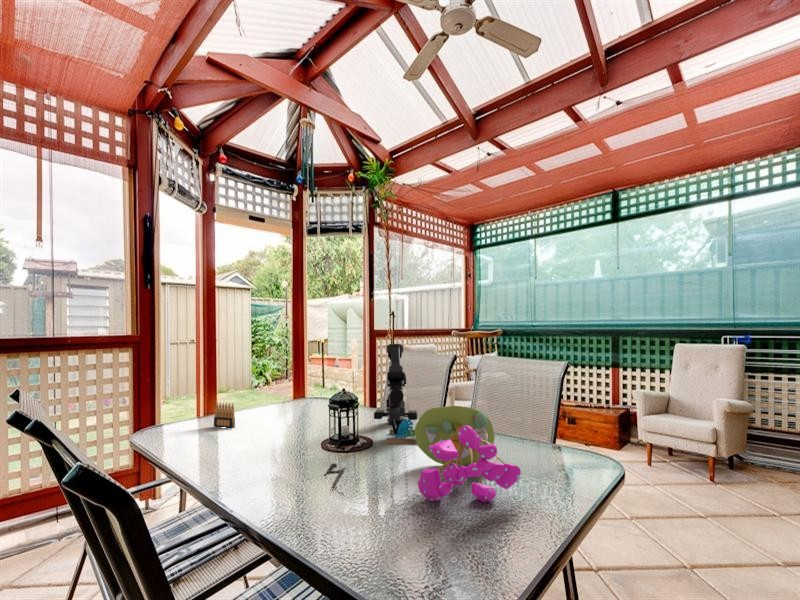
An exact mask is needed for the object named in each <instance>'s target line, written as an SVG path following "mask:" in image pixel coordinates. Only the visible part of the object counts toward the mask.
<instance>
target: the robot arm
mask: <svg viewBox="0 0 800 600" xmlns="http://www.w3.org/2000/svg"><path fill="white" fill-rule="evenodd" d="M403 353H404V345H403V344H402V343H389V344H387V345H386V354H387V357H388V359H389V361H390V366H389V367H388V372H387V373H386V375H387V376H386V378H387V380H386V381H387V382H386V383H387V384H386V386H387V387H388V388H389V392H388V394H387V398H386V400H385V401H386V403H385V404H386V408H385V409H386V410H384V409H376V410H374V412H373V420H382V419H383V418H385V417H386V421H387V425H391V427H392V428H391V429H393V431H394V434H395V436H396V435H398V434H397V432H398V428H399V425H400V423H401V422H402V421H403V422H404V419H405V418H408V419H410V420H411V421H415V420H416V421H418V411H417V410H408V409H407V410H408V411H407V412H406V407H405V400H404V392H403V387H406V385H407V374H406V372H405V371H404V367H403V366H402V364H401V359H402V357H403ZM396 424H397V425H396Z"/></svg>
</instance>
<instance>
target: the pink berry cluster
mask: <svg viewBox="0 0 800 600" xmlns="http://www.w3.org/2000/svg"><path fill="white" fill-rule="evenodd" d="M414 430H415V435H414V438H416V443H417V444H416V445H417V447H418V448H419V449H420V450H421V451H422V452H423V453H424V455H425V456H427V457H428V458H429V459H431V460H432V461H434V462H436V463H438V464H441V465H440V466H439V467H438V468H436V467H435V468H427V467H425V468H424V469H422V471H421V472H420V475H419V478H418V481H417V486H418V490H419V492H420V493H421V495H422V496H423V497H424V498H425V499H427V500H428V501H430V502H437V501H442V498H445V499H447V498H448V496H449V495H450V494H451V493H452V492H453V491H454V490H453V488H454V486H458V487H459V486H460V487H463V484H464V483H465V482H467V481H468V478H474V477H475V478H478V477H479V482H480V483H479V482H474V481H472V482H471V494H472V496H473V497H474V498H476V499H477V500H478V501H480V502H482V503H483V502H485V503H487V502H491V501H493V500H494V499H495V498H496V497H497V496H496V495H497V494H496V493H497V490H496V488H494V487H492V486H490V485H487V484H482V477H483V479H486V481H488V482H494V483H495V484H497V486H499V487H501V488H502V489H505V490H508V489H510V488H511V487H512V486H514V484H515V483H519V480H520V479H521V472H522V471H521V468H520V467H519V466H517V465H515V464H512V463H505V462H504V461H502V460H501V459H500V458H499V457H498V448H497V446H496V445H497V443H495V431H494V427H493V424H492V421H491V420H490V419H489V417H488V416H487V415H486V414H485V413H483V412H481V411H479V410H477V409H474V408H471V407H467V406H461V405H449V406H448V405H447V406H438V407H431V408H430V409H427V410H425V411H424V412H423V414H422V415H421V416H420V417H419V419H417V422H416V425H415V427H414ZM493 458H495V459H494V462H492V461H490V460H492V459H493ZM497 460H498V461H499V462H501V463H499V462H497ZM459 466H460V467H459ZM442 469H443V470H442ZM440 473H442V477H443V478H444V481H442V480H441V474H440ZM481 476H482V477H481Z"/></svg>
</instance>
